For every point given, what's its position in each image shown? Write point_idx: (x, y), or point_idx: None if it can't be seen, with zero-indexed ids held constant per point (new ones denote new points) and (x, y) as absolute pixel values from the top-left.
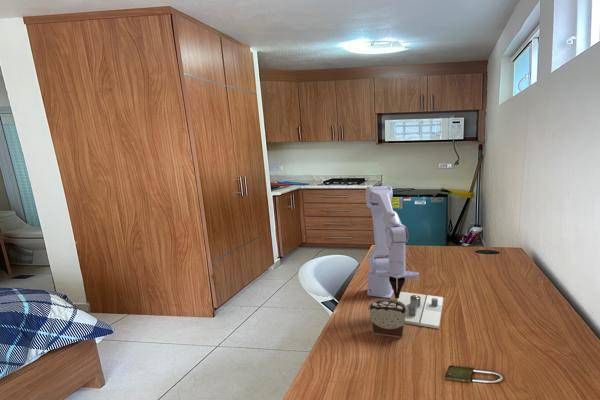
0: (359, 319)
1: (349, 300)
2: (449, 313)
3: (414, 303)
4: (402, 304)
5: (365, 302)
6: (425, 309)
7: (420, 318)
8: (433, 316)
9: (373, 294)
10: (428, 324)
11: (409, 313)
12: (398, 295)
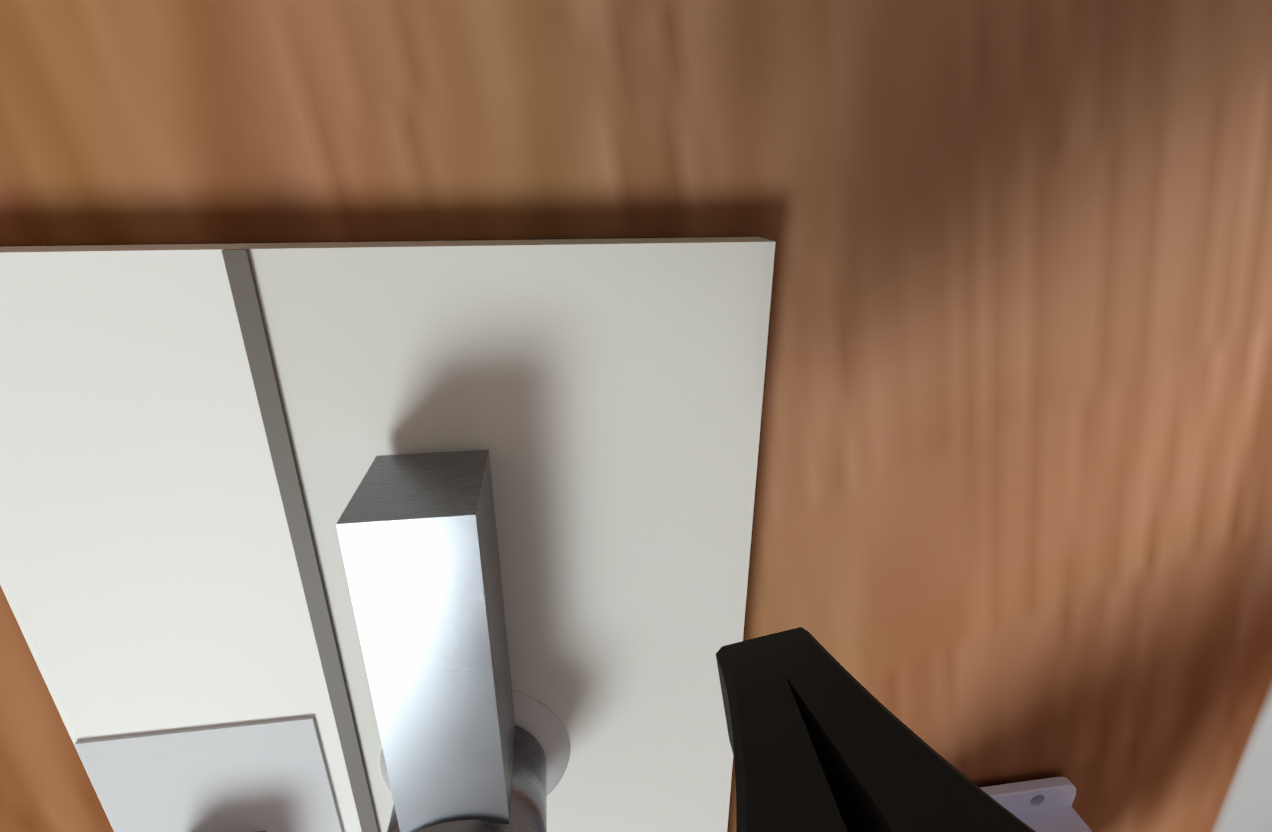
0: (1202, 108)
1: (1268, 596)
2: (5, 767)
3: (419, 704)
4: None
5: (1087, 622)
6: (309, 711)
7: (275, 408)
8: (110, 561)
9: (1007, 806)
10: (65, 249)
11: (473, 457)
12: (751, 695)
